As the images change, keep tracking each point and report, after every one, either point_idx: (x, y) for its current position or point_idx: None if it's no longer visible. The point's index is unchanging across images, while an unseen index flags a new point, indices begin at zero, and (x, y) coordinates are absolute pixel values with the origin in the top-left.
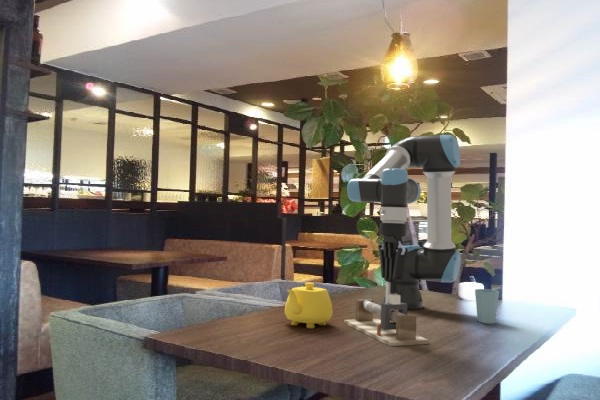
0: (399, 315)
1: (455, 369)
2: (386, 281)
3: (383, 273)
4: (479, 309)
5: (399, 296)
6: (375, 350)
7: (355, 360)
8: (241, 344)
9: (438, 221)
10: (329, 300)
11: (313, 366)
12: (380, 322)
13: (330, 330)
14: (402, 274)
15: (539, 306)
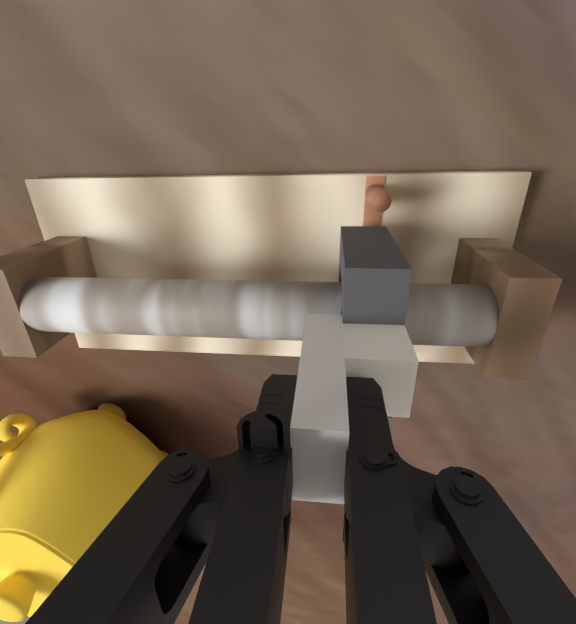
0: (505, 371)
1: None
2: (292, 496)
3: (201, 566)
4: None
5: (415, 364)
6: (502, 422)
7: (565, 509)
8: (322, 619)
9: None
10: (78, 485)
11: None
12: (120, 215)
13: (207, 427)
14: (546, 559)
15: None
